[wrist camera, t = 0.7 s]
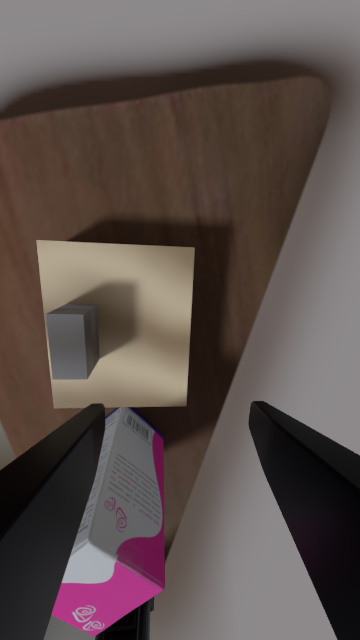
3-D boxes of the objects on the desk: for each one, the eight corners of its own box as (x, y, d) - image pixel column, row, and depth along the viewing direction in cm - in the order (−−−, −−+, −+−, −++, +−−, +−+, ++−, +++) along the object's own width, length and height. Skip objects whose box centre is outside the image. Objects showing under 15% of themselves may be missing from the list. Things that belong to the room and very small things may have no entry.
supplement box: (80, 436, 23) (8, 600, 12) (125, 399, 22) (92, 535, 11) (122, 470, 25) (92, 644, 13) (165, 436, 24) (171, 589, 13)
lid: (185, 400, 19) (191, 433, 16) (58, 401, 19) (33, 437, 15) (193, 247, 17) (202, 245, 13) (42, 241, 16) (6, 235, 12)
